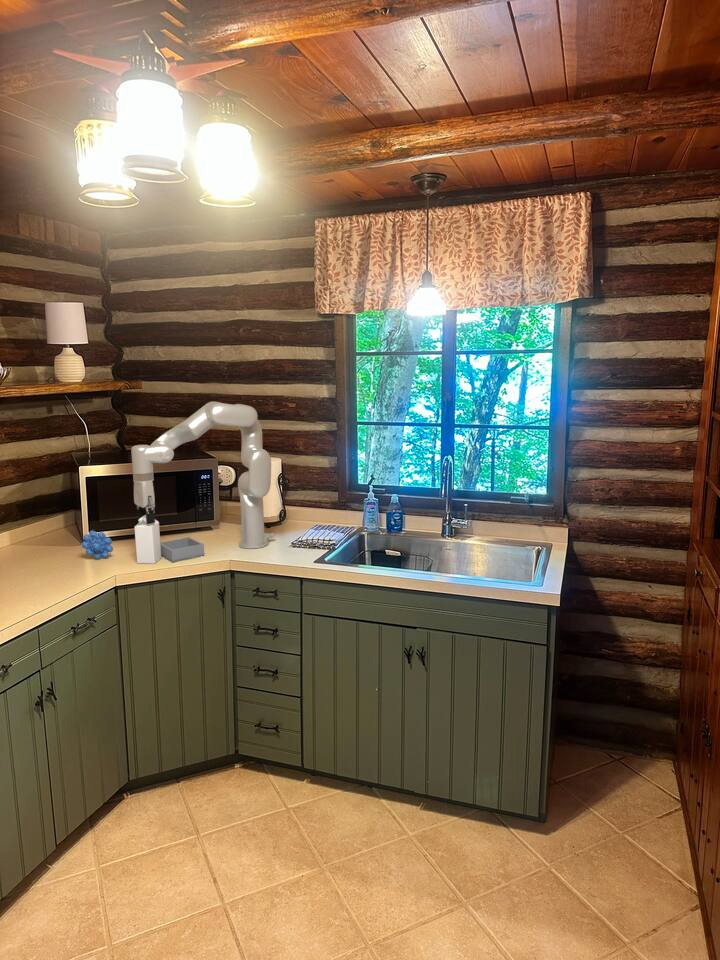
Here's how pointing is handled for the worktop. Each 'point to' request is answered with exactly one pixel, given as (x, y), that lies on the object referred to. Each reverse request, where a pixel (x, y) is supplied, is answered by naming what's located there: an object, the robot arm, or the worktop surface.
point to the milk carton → (147, 541)
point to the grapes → (97, 544)
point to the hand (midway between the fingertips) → (146, 520)
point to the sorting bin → (181, 549)
